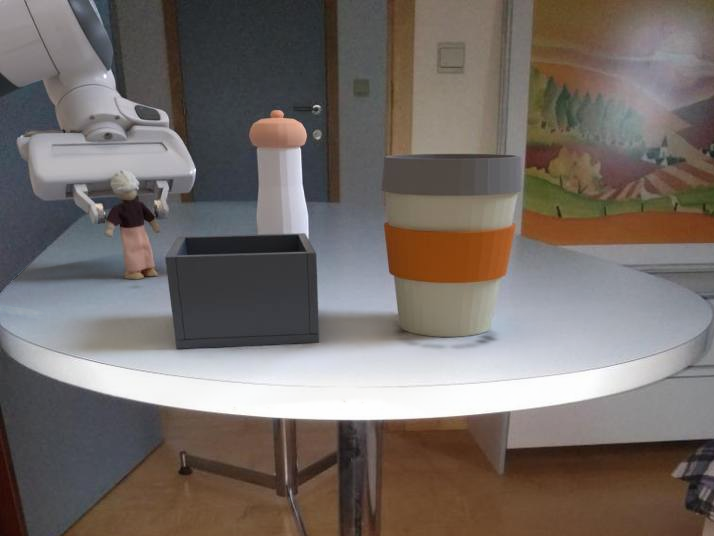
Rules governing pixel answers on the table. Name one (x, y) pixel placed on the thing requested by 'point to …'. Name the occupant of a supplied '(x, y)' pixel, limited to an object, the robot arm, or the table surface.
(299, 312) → the dark grey storage bin
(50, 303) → the table surface
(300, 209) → the pepper shaker
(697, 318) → the table surface
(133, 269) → the grandmother figurine
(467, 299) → the reusable coffee cup
